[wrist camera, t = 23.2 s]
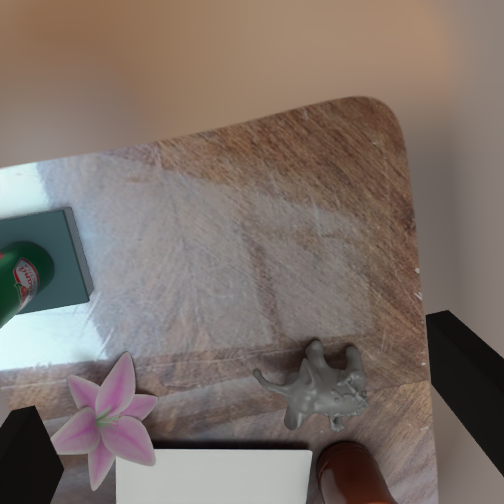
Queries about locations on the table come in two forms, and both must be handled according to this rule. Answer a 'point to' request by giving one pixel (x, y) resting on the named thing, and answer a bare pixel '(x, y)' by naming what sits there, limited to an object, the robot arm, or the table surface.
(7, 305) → the soda can
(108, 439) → the lily
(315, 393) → the elephant statuette
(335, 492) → the mug
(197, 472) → the plate
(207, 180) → the table surface
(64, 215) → the square coaster
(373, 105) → the table surface
